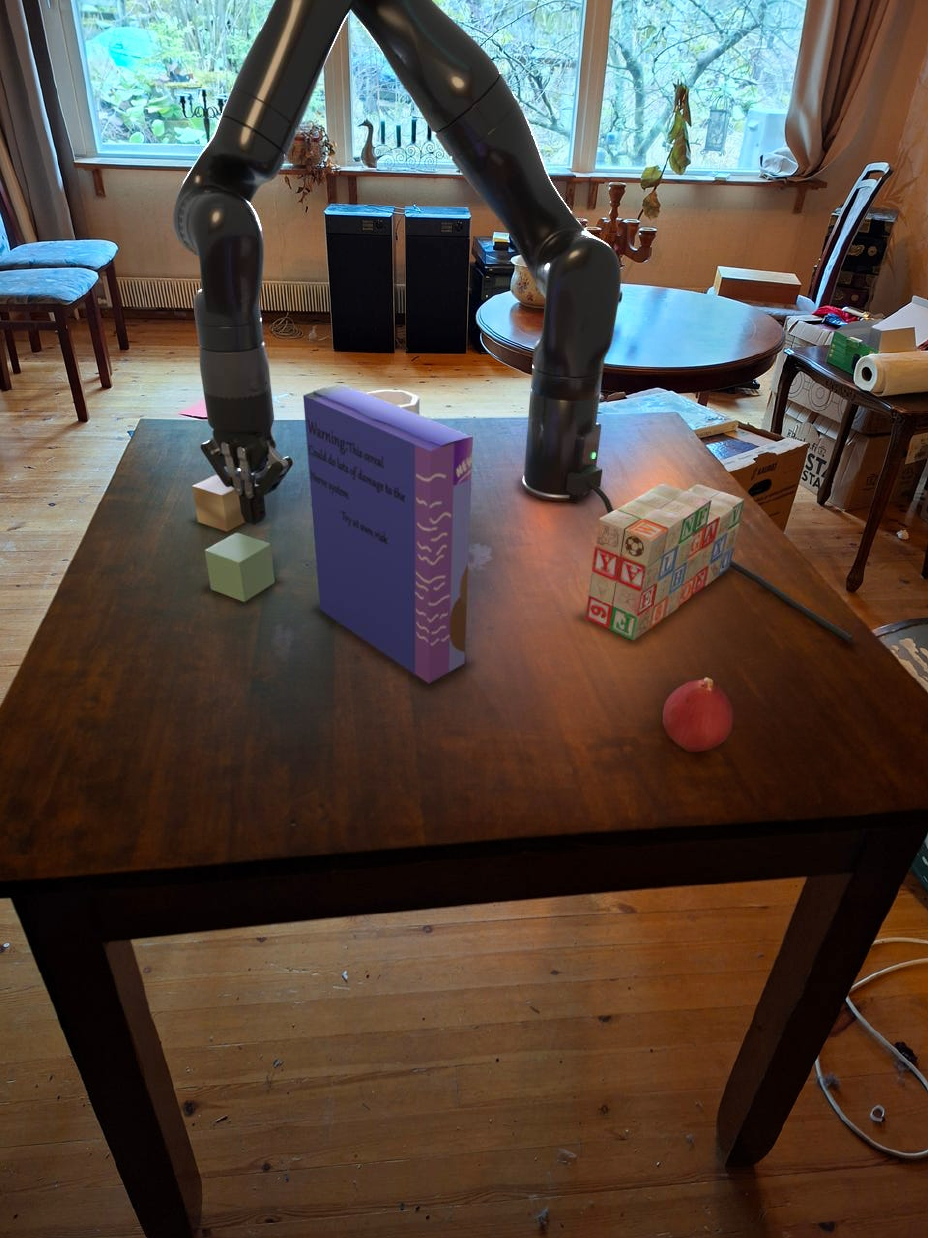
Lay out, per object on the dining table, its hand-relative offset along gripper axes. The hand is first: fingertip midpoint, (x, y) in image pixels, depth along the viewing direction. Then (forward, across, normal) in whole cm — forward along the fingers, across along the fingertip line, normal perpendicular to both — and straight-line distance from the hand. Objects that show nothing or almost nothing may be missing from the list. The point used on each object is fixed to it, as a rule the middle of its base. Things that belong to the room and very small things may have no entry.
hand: (254, 520), depth 104 cm
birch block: (+1, +5, 0) cm, 5 cm away
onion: (+2, -59, +11) cm, 60 cm away
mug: (+2, -4, -26) cm, 26 cm away
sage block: (+1, -8, +11) cm, 14 cm away
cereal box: (+2, -27, +11) cm, 29 cm away
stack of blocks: (+2, -49, -13) cm, 51 cm away
